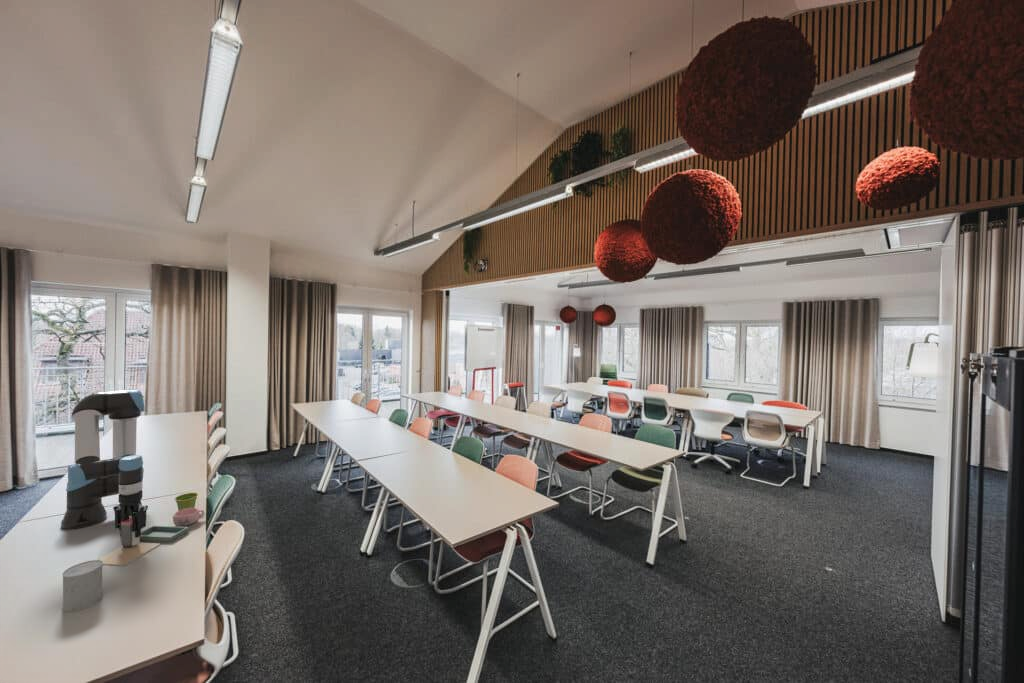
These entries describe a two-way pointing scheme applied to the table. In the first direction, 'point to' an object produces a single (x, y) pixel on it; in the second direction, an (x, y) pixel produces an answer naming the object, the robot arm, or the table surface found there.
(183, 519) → the mug
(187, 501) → the plant pot
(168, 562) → the table surface
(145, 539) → the tray
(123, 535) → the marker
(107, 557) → the tan board
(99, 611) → the table surface
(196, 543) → the table surface
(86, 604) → the grey stone cylinder
